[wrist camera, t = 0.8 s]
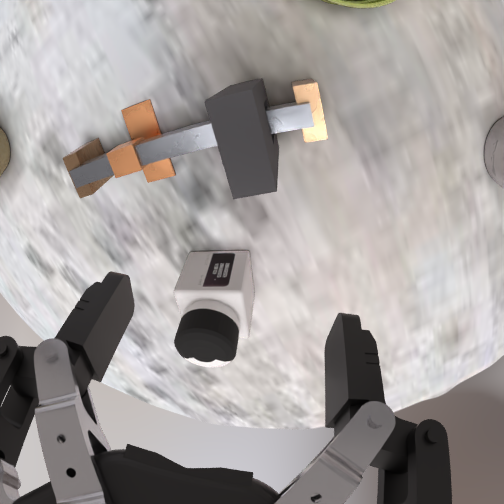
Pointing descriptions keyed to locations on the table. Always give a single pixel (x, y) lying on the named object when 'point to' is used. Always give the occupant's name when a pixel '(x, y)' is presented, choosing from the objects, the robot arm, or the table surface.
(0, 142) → the plant pot
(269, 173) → the collar
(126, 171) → the rail
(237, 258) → the container
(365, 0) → the plant pot
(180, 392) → the table surface
